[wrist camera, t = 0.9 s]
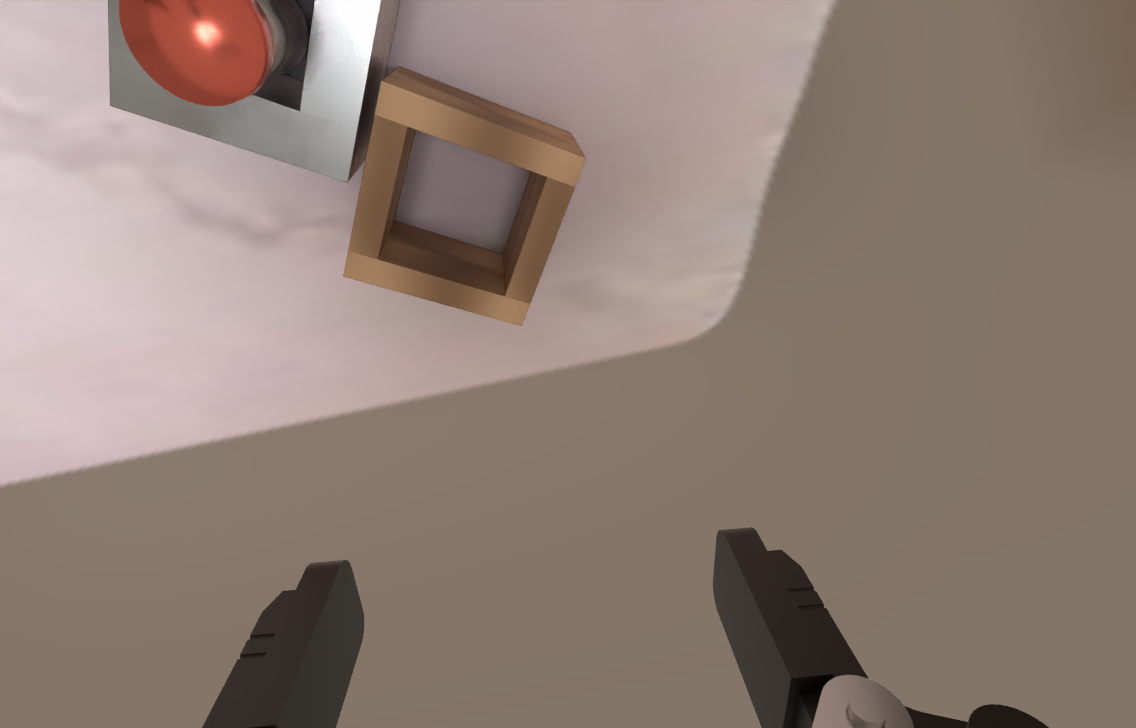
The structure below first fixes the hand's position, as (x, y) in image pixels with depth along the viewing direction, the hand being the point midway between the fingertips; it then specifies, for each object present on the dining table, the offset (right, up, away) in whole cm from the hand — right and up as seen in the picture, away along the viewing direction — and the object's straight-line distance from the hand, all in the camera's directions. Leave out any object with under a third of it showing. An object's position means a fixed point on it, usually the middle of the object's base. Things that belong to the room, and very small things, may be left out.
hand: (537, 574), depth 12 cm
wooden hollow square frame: (-4, +13, +15) cm, 21 cm away
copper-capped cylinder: (-10, +17, +8) cm, 22 cm away
